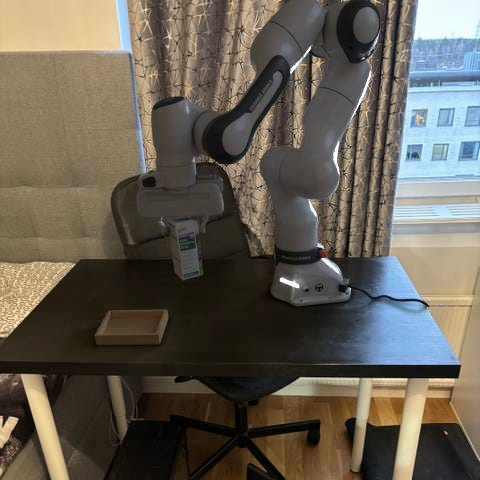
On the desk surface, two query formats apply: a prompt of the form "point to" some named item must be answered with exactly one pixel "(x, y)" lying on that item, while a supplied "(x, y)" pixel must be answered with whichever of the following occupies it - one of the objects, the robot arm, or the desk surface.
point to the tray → (132, 327)
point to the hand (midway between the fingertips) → (183, 233)
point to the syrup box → (185, 247)
